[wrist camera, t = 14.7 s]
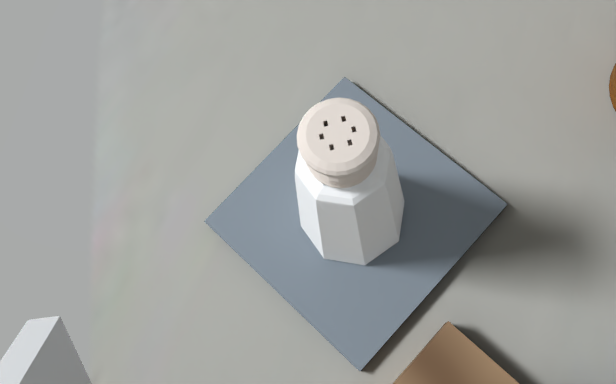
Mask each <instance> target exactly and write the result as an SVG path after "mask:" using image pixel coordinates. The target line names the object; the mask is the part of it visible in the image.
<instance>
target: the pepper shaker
mask: <svg viewBox="0 0 616 384" xmlns="http://www.w3.org/2000/svg"><path fill="white" fill-rule="evenodd" d="M297 146H298V149H299V151H298V156H297V161H296V167H295V184H296V192H297V200H298V208H299V216H300V224H301V227H302V228H303V230H304V231H305V233H306V234H307V235H308V237H309V238H310V240H311V241H312V243H313V244H314V245H315V247H316V248H317V250H318V251H319V252H320V254H321V255H322V257H323V258H324V259H329V260H335V261H341V262H347V263H353V264H359V265H366V264H368V263H369V262H370V261H372V260H373V259H375V258H376V257H377V256H379V255H380V254H382V253H383V252H385V251H386V250H387V249H389V248H390V247H392V246H393V245H394V244H396V243H397V242H399V237H400V230H401V223H402V216H403V209H404V202H405V201H404V197H403V193H402V189H401V185H400V181H399V177H398V172H397V168H396V164H395V160H394V156H393V153H392V150H391V148H390V147H389V145H388V144H387V143H386V142H385V140H384V139H383V138H382V137H381V135H380V129H379V124H378V122H377V120H376V117H375V116H374V114H373V113H372V112H371V111H370V110H369V108H367V107H366V106H364V105H363V104H362V103H360V102H358V101H355V100H352V99H349V98H340V97H339V98H331V99H327V100H324V101H322V102H319V103H318V104H316V105H315V106H313V107H312V108H310V109H309V110H308V112H307V113H306V114H305V115H304V116H303V118H302V120H301V122H300V124H299V126H298V131H297Z"/></svg>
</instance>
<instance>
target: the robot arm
mask: <svg viewBox="0 0 616 384" xmlns="http://www.w3.org/2000/svg"><path fill="white" fill-rule="evenodd" d="M0 384H92V383H91V381H90V379H89V377H88V375H87V373H86V371H85V368H84V366H83V364H82V362H81V360H80V358H79V356H78V353H77V351H76V349H75V347H74V345H73V343H72V341H71V339H70V336H69V334H68V332H67V330H66V328H65V326H64V324H63V322H62V319H61V317H60V316H56V317H48V318H40V319H31V320H28V321H27V322H26V324H25V325H24V327H23V328H22V330H21V331H20V333H19V334H18V336H17V337H16V339H15V340H14V342H13V343H12V345H11V346H10V348H9V349H8V351H7V352H6V354H5V355H4V357H3V358H2V360H1V361H0Z"/></svg>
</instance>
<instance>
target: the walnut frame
mask: <svg viewBox="0 0 616 384" xmlns="http://www.w3.org/2000/svg"><path fill="white" fill-rule="evenodd" d="M393 384H519V383H518V382H517V381H516V380H515V379H514V378H512V377H511V376H510V375H509V374H508V373H507V372H506V371H504V370H503V369H502V368H501V367H500V366H499V365H498V364H497V363H495V362H494V361H493V360H492V359H491V358H490V357H489V356H487V355H486V354H485V353H484V352H483V351H482V350H481V349H480V348H478V347H477V346H476V345H475V344H474V343H473V342H472V341H470V340H469V339H468V338H467V337H466V336H465V335H464V334H463V333H461V332H460V331H459V330H458V329H457V328H456V327H455V326H453V325H452V324H451V323H450V322H449V321H448V322H447V323H445V324H444V325H443V326H442V328H441V329H440V330H439V331H438V332H437V333H436V334H435V336H434V337H433V338H432V339H431V340H430V341H429V342H428V344H427V345H426V346H425V347H424V348H423V349H422V351H421V352H420V353H419V354H418V355H417V356H416V357H415V359H414V360H413V361H412V362H411V363H410V364H409V365H408V367H407V368H406V369H405V370H404V371H403V372H402V374H401V375H400V376H399V377H398V378H397V379H396V380H395V382H394V383H393Z"/></svg>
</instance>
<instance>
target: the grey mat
mask: <svg viewBox="0 0 616 384" xmlns="http://www.w3.org/2000/svg"><path fill="white" fill-rule="evenodd" d="M339 97H340V98H349V99H352V100H355V101H358V102H360V103H362V104H363V105H364V106H366V107H367V108H369V110H370V111H371V112H372V113H373V114H374V116H375V117H376V120H377V122H378V124H379V129H380V135H381V137H382V138H383V139H384V140H385V142H386V143H387V144H388V145H389V147H390V148H391V150H392V153H393V156H394V160H395V164H396V168H397V172H398V177H399V181H400V185H401V189H402V193H403V197H404V201H405V202H404V209H403V216H402V223H401V230H400V237H399V242H397V243H396V244H394V245H393V246H392V247H390V248H389V249H387V250H386V251H385V252H383V253H382V254H380V255H379V256H377V257H376V258H375V259H373V260H372V261H370V262H369V263H368V264H366V265H359V264H353V263H347V262H341V261H335V260H329V259H324V258H323V257H322V255H321V254H320V252H319V251H318V250H317V248H316V247H315V245H314V244H313V243H312V241H311V240H310V238H309V237H308V235H307V234H306V233H305V231H304V230H303V228H302V227H301V224H300V216H299V208H298V200H297V192H296V184H295V167H296V161H297V156H298V151H299V149H298V146H297V131H298V126H299V124H300V123H299V124H298V125H297V126H296V127H295V128H294V129H293V130H292V131H291V132H290V133H289V134H288V136H287V137H286V138H285V139H284V140H283V141H282V142H281V143H280V144H279V145H278V146H277V147H276V148H275V149H274V150H273V151H272V152H271V153H270V154H269V155H268V156H267V157H266V158H265V159H264V160H263V161H262V162H261V163H260V164H259V165H258V166H257V167H256V168H255V170H254V171H253V172H252V173H251V174H250V175H249V176H248V177H247V178H246V179H245V180H244V181H243V182H242V183H241V184H240V185H239V186H238V187H237V188H236V189H235V190H234V191H233V192H232V193H231V194H230V195H229V196H228V197H227V198H226V199H225V200H224V201H223V202H222V203H221V205H220V206H219V207H218V208H217V209H216V210H215V211H214V212H213V213H212V214H211V215H210V216H209V217H208V218H207V219H206V220H205V221H204V222H205V223H206V224H207V225H209V226H210V227H211V228H212V229H213V230H214V231H215V232H216V233H217V234H218V235H219V236H220V237H221V238H222V239H223V240H224V241H225V242H226V243H227V244H228V245H229V246H230V247H231V248H232V249H233V250H234V251H235V252H236V253H238V254H239V255H240V256H241V257H242V258H243V259H244V260H245V261H246V262H247V263H248V264H249V265H250V266H251V267H252V268H253V269H254V270H255V271H256V272H257V273H258V274H259V275H260V276H261V277H262V278H263V279H264V280H265V281H267V282H268V283H269V284H270V285H271V286H272V287H273V288H274V289H275V290H276V291H277V292H278V293H279V294H280V295H281V296H282V297H283V298H284V299H285V300H286V301H287V302H288V303H289V304H290V305H291V306H292V307H293V308H294V309H296V310H297V311H298V312H299V313H300V314H301V315H302V316H303V317H304V318H305V319H306V320H307V321H308V322H309V323H310V324H311V325H312V326H313V327H314V328H315V329H316V330H317V331H318V332H319V333H320V334H321V335H322V336H323V337H325V338H326V339H327V340H328V341H329V342H330V343H331V344H332V345H333V346H334V347H335V348H336V349H337V350H338V351H339V352H340V353H341V354H342V355H343V356H344V357H345V358H346V359H347V360H348V361H349V362H350V363H351V364H352V365H354V366H355V367H356V368H357V369H358V370H359V371H361V370H362V369H363V368H364V367H365V365H366V364H367V363H368V362H369V361H370V360H371V359H372V357H373V356H374V355H375V354H376V353H377V352H378V351H379V350H380V348H381V347H382V346H383V345H384V344H385V343H386V342H387V340H388V339H389V338H390V337H391V336H392V335H393V334H394V333H395V331H396V330H397V329H398V328H399V327H400V326H401V325H402V323H403V322H404V321H405V320H406V319H407V318H408V317H409V316H410V314H411V313H412V312H413V311H414V310H415V309H416V308H417V306H418V305H419V304H420V303H421V302H422V301H423V300H424V299H425V297H426V296H427V295H428V294H429V293H430V292H431V291H432V289H433V288H434V287H435V286H436V285H437V284H438V283H439V282H440V280H441V279H442V278H443V277H444V276H445V275H446V274H447V272H448V271H449V270H450V269H451V268H452V267H453V266H454V264H455V263H456V262H457V261H458V260H459V259H460V258H461V257H462V255H463V254H464V253H465V252H466V251H467V250H468V249H469V247H470V246H471V245H472V244H473V243H474V242H475V241H476V240H477V238H478V237H479V236H480V235H481V234H482V233H483V232H484V230H485V229H486V228H487V227H488V226H489V225H490V224H491V223H492V221H493V220H494V219H495V218H496V217H497V216H498V215H499V213H500V212H501V211H502V210H503V209H504V208H505V207H506V205H507V203H506V202H504V201H503V200H502V199H501V198H499V197H498V196H497V195H495V194H494V193H493V192H492V191H490V190H489V189H488V188H486V187H485V186H484V185H483V184H481V183H480V182H479V181H477V180H476V179H475V178H474V177H472V176H471V175H470V174H469V173H467V172H466V171H465V170H463V169H462V168H461V167H460V166H458V165H457V164H456V163H454V162H453V161H452V160H451V159H449V158H448V157H447V156H446V155H444V154H443V153H442V152H440V151H439V150H438V149H437V148H435V147H434V146H433V145H431V144H430V143H429V142H428V141H426V140H425V139H424V138H422V137H421V136H420V135H419V134H417V133H416V132H415V131H414V130H412V129H411V128H410V127H408V126H407V125H406V124H405V123H403V122H402V121H401V120H399V119H398V118H397V117H396V116H394V115H393V114H392V113H391V112H389V111H388V110H387V109H385V108H384V107H383V106H382V105H380V104H379V103H378V102H376V101H375V100H374V99H373V98H371V97H370V96H369V95H367V94H366V93H365V92H364V91H362V90H361V89H360V88H359V87H357V86H356V85H355V84H353V83H352V82H351V81H350V80H348V79H347V78H346V77H344V78H343V79H342V80H341V81H340V82H339V83H338V84H337V85H336V86H335V87H334V88H333V89H332V90H331V91H330V92H329V93H328V94H327V95H326V96H325V97H324V98H323V99H322V100H321V102H322V101H324V100H327V99H331V98H339Z"/></svg>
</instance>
